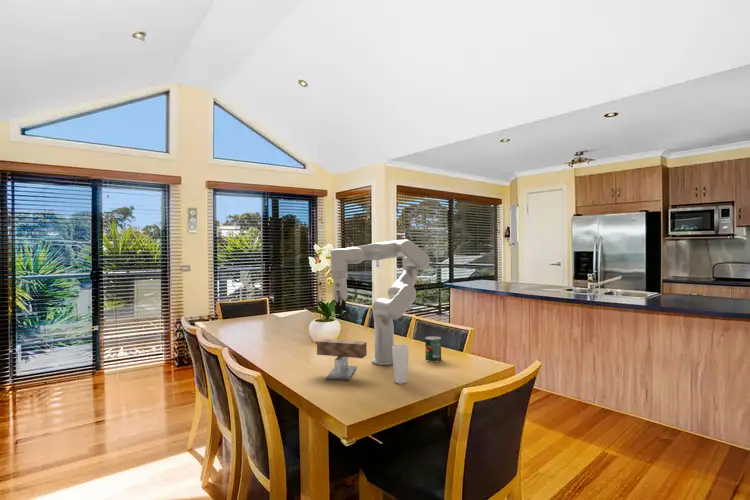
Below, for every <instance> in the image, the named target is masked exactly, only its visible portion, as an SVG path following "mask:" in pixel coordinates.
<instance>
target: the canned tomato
mask: <svg viewBox="0 0 750 500" xmlns="http://www.w3.org/2000/svg"><path fill="white" fill-rule="evenodd" d="M424 341H425V346H424V347H425V349H424V350H425V352H424V353H425V361H426V360H429V361H428V362H430V361H438V362H440V361H439V360H441V361H442V338H441V336H437V335H429V336H425V337H424Z"/></svg>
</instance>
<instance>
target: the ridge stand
mask: <svg viewBox="0 0 750 500" xmlns="http://www.w3.org/2000/svg"><path fill="white" fill-rule="evenodd" d="M356 370H357V365H349V357H340V356H336V358H335V359H334V367H333V368H332V369H331V371H330V372H329V374H327V376H326V377H325V381H330V382H331V381H333V382H334V381H335V382H339V381H340V382H349V381H350V380H351V378H352V376H353V375H354V373H355V372H356Z"/></svg>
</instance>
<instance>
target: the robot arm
mask: <svg viewBox="0 0 750 500" xmlns="http://www.w3.org/2000/svg"><path fill="white" fill-rule="evenodd" d="M399 257H401V258H402V272H401V274H400V276H399V277H398V278H397V279H396V281H394V283H392V284H391V286H390V287H389V288H388V290H387V298H386V297H378V298H376V299H375V300H374V302H373V303H372V305H371V306H372V307H371V310H372V315H373V322H374V323H373V324H374V325H373V326H374V327H373V328H374V329H373V330H374V357H373V358H372V359H371V363H372V364H374V365H377V366H393V358H392V346H393V345H395V341H394V340H395V338H394V335H395V333H394V332H395V331H394V330H395V328H394V320H396V321H397V320H398V319H400V318H401V317H403V315H404V314H405V312H407V310H408V309H409V308H410V306H412V305H413V303H414V302H415V300H416V297H417V291H416V288H415V285H416V283H417V280H418V273H417V270H419V271H420V270H422V271H423V270H427V269H428V268H429V266H430V262H431V261H430V260H431V259H430V257H429V255H428V254H427V253H426V252H425V251H424V250H422V249H421V248H420V247H419V246H418V245H417V244H416V243H415V242H413V241H412V240H409V239H395V240H390V241H389V240H387V241H382V242H375V243H368V244H364V245H358V246H357V245H356V246H350V247H345V248H332V249H331V250H330V275H331V277H330V278H331V279H332V280H333V300H334V314H335V315H342V314H343V311H346V310H347V302H346V300H347V299H348V298H349V297H348V285H347V283H348V282H347V279H349V277H348V275H349V273H348V264H356V265H357V264H361V263H362V262H364V261H382V260H386V259H395V258H399Z"/></svg>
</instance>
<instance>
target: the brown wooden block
mask: <svg viewBox="0 0 750 500" xmlns="http://www.w3.org/2000/svg"><path fill="white" fill-rule="evenodd" d="M367 353H368V351H367V341H361V340H360V341H358V340H357V341H356V340H346V339H345V340H343V339H342V340H341V339H329V338H320V339H319V340H317V341H316V355H318V356H332V357H338V356H340V357H348V358H352V359H353V358H354V359H364V358H365V357H366V356H367V355H368V354H367Z"/></svg>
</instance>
